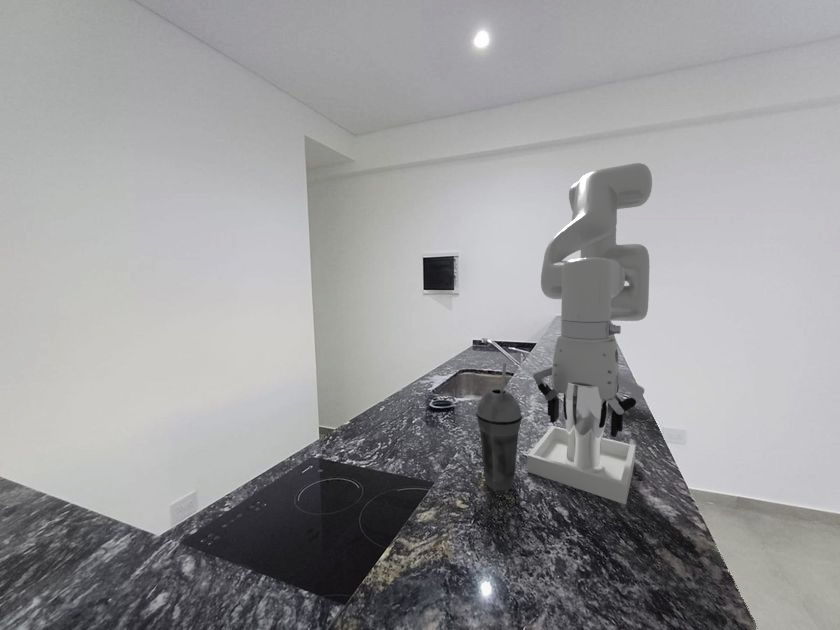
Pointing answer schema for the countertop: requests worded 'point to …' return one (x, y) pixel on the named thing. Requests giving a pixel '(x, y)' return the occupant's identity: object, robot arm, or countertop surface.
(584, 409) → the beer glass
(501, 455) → the beverage cup
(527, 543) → the countertop surface
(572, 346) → the robot arm
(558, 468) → the tray
